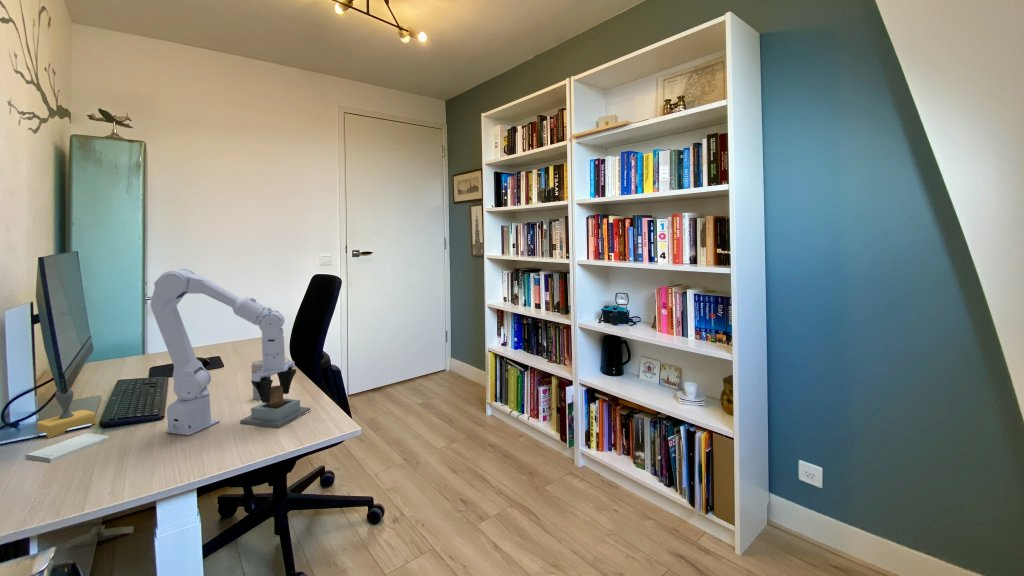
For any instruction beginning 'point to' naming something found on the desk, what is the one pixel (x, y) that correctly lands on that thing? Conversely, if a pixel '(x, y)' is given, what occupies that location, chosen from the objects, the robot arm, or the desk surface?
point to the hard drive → (67, 447)
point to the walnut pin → (276, 397)
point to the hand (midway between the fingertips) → (275, 397)
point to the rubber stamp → (65, 417)
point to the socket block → (275, 414)
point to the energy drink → (255, 367)
